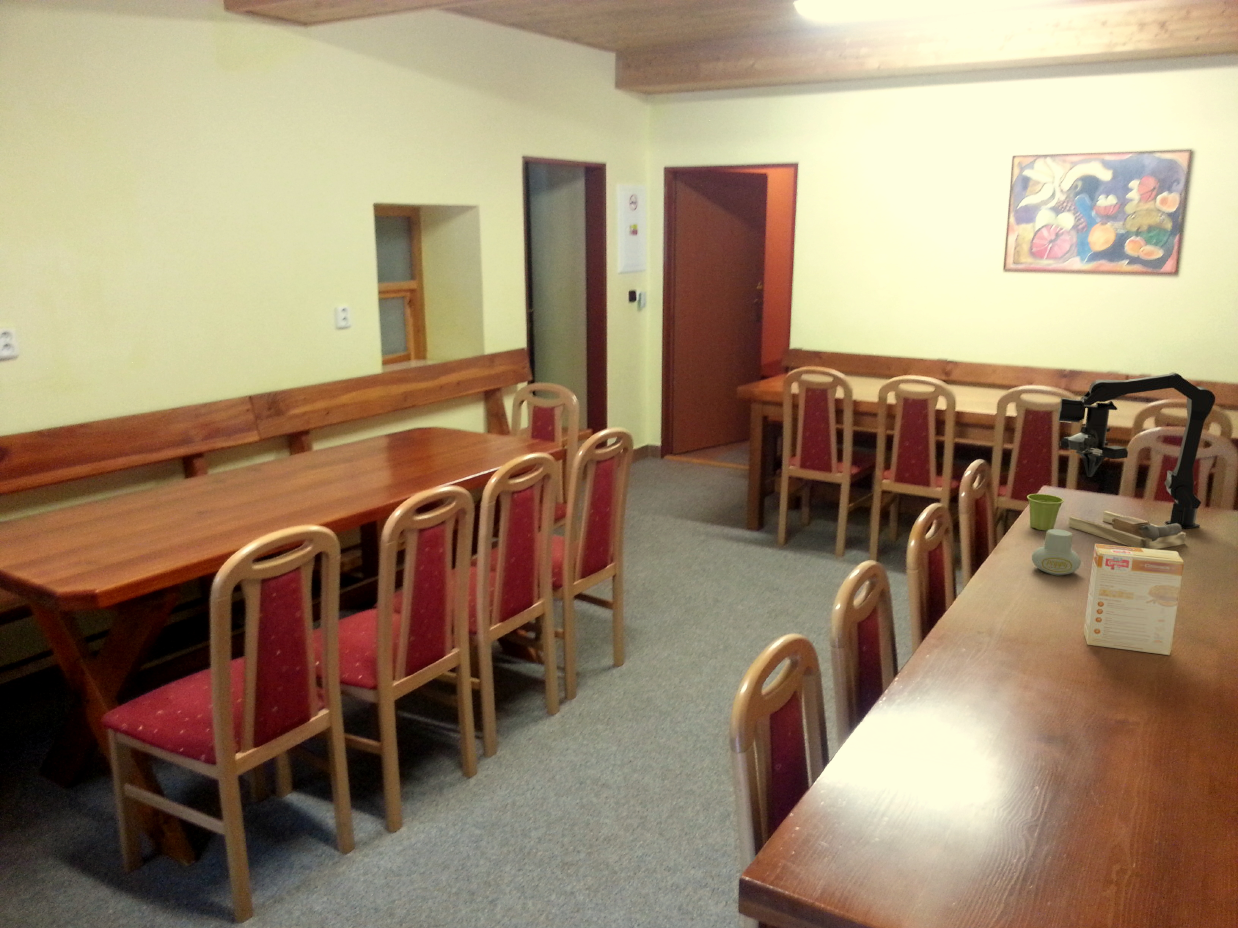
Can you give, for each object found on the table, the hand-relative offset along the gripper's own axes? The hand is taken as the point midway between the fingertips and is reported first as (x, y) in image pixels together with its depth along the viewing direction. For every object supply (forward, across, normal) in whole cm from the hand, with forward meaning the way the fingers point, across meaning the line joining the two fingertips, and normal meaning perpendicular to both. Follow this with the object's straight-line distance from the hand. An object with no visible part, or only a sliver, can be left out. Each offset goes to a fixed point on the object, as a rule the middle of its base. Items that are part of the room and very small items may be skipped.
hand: (1089, 476), depth 280 cm
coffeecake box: (+12, +69, -72) cm, 100 cm away
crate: (+12, +20, -6) cm, 24 cm away
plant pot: (+12, +4, -22) cm, 25 cm away
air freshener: (+12, +32, -49) cm, 60 cm away
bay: (+12, +18, -6) cm, 22 cm away
